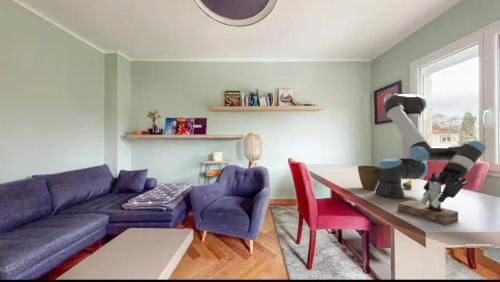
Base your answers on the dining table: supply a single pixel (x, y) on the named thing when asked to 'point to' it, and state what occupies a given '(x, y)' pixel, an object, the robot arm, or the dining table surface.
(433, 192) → the metal peg
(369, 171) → the plant pot
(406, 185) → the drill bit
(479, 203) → the dining table surface
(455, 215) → the tool block
